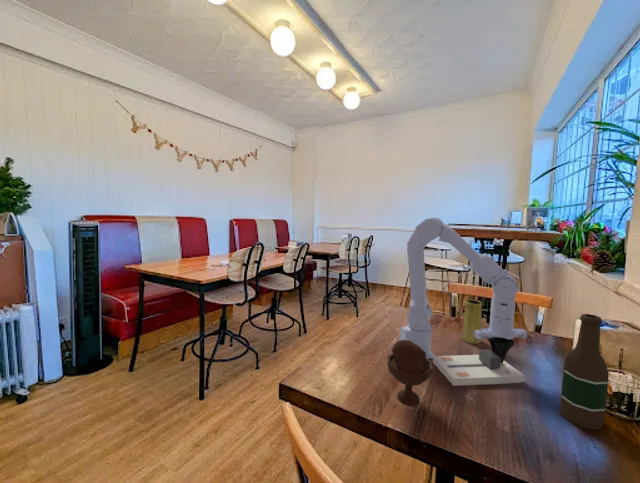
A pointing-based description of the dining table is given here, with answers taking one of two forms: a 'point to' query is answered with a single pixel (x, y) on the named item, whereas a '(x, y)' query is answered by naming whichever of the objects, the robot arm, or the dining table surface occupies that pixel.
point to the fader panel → (475, 371)
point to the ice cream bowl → (409, 369)
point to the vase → (472, 321)
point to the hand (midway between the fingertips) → (498, 361)
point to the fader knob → (489, 358)
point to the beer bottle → (585, 378)
